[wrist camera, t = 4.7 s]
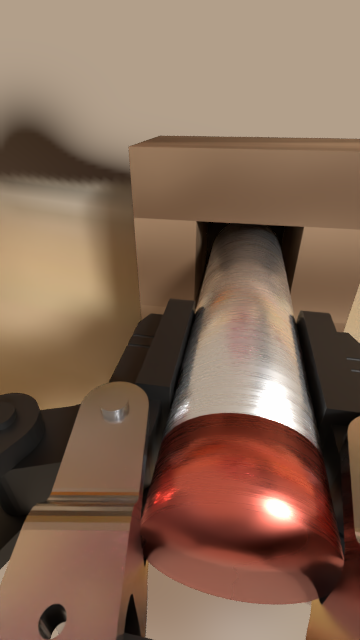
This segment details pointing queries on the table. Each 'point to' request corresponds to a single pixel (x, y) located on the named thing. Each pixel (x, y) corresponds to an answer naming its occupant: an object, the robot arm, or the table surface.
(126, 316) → the table surface
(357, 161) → the socket block
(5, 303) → the table surface
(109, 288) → the table surface
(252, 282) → the pin
